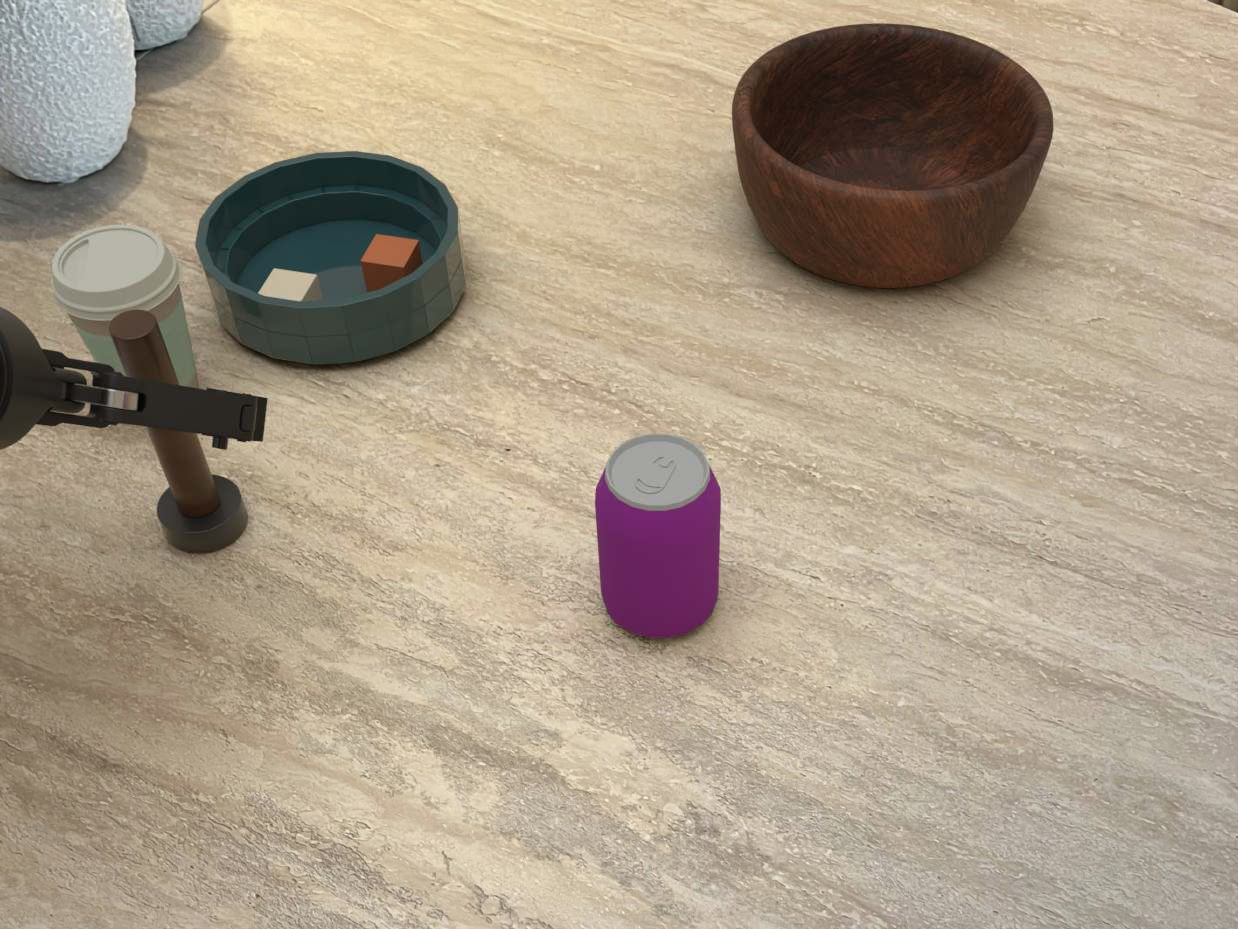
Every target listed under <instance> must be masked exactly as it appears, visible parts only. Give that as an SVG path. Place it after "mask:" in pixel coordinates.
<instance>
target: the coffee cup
mask: <svg viewBox="0 0 1238 929" xmlns="http://www.w3.org/2000/svg"><path fill="white" fill-rule="evenodd" d="M181 270H182V269H181V266H180V263H179V260H178V259H177V258H176V257H175V254H174V252H173V251H172V250H171V249H170V248H169V247H168V246H167V245H166V244H165V243H164V241H163V240H162V239H161V237H160V236H159V235H158V234H156V233H155V232H154V231H152V230H150V229H148V228H145V227H142V226H139V225H133V224H108V225H103V226H98V227H94V228H91V229H88V230H86V231H83V232H80V233H79V234H77V235H75V236H72V237H71V238H70V239H68V240H67V241H66V242H64V244H62V245H61V246H60V247H59V248H58V250H56V252H55V254H54V255H53V258H52V261H51V276H50V277H51V278H50V287H51V290H52V296H53V299H54V301H55V303H56V305H57V306H58V307H59V309H61V310H62V311H63V312H66V314H67V315H68V317H69V319H70V321H71V322H72V324H73V326H74V327H75V329H76V331H77V333H78V334H79V336H80V338H81V340H82V342H83V343H84V345H85V347H86V348H87V351H88V352H89V354H90V355H91V357H92V359H93V362H95V363H101V364H107V365H110V366H112V367H113V368H114V370H115V372H120V373H122V375H124V376H126V374H125V372H124V369H123V366H122V364H121V361H120V359H119V356H118V354H117V351H116V349H115V346H114V343H113V341H112V338H111V336H110V333H109V330H108V327H109V323H110V322H111V320H112V319H113V318H114V317H115V316H117V315H118V314H120V313H122V312H125V311H129V310H136V309H138V310H146V311H148V312H150V313H152V314H153V315H154V316H155V317H156V319H157V322H158V325H159V328H160V331H161V334H162V336H163V339H164V342H165V345H166V348H167V350H168V353H169V356H170V359H171V362H172V365H173V367H174V370H175V373H176V376H177V379H178V381H179V384H180V385H181V386H187V387H193V388H199V389H200V383H199V379H198V373H197V368H196V362H195V358H194V353H193V345H192V341H191V336H190V331H189V326H188V321H187V316H186V311H185V306H184V300H183V296H182V290H181V285H180V280H181V275H182V271H181Z"/></svg>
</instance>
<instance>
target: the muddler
mask: <svg viewBox="0 0 1238 929" xmlns="http://www.w3.org/2000/svg"><path fill="white" fill-rule="evenodd" d="M108 330H109V333H110V336H111V338H112V341H113V343H114V346H115V349H116V351H117V354H118V356H119V359H120V361H121V364H122V366H123V369H124V372H125V374H126V377H132V378H138V379H144V380H150V381H156V382H162V383H169V384H175V385H180V384H179V381H178V379H177V376H176V373H175V370H174V367H173V365H172V362H171V359H170V356H169V353H168V350H167V348H166V345H165V342H164V339H163V336H162V334H161V331H160V328H159V325H158V322H157V319H156V317H155V316H154V315H153V314H152V313H150V312H148V311H146V310H138V309H136V310H129V311H125V312H122V313H120V314H118V315H117V316H115V317H114V318H113V319H112V320H111V322H110V323H109V327H108ZM145 428H146V431H147V433H148V436H149V439H150V441H151V444H152V446H153V448H154V450H155V454H156V456H157V459H158V461H159V464H160V467H161V469H162V472H163V474H164V477H165V479H166V482H167V485H168V488H166V490H164V492H162V494H161V496H160V498H159V499H158V502H157V504H156V515H157V518H158V520H159V524H160V526H161V529H162V530H163V533H164V536H165V537H166V539H167V541H168V542H169V543H170V545H172V546H173V547H174V548H176V549H177V550H180V551H182V552H186V553H189V554H191V553H192V554H207V553H211V552H215V551H219V550H222V549H224V548H226V547H228V546H230V545H231V544H233V543H234V542H235V541H236V540H238V539H239V537H240V536H242V534H243V533H244V532H245V530H246V527H247V524H248V520H249V516H248V511H247V508H246V505H245V502H244V499H243V495H242V492H241V491H240V488H239V487H238V486H237V485H236V483H235V482H234V481H233V480H231V479H229V478H227V477H226V476H223V475H219V474H212V472H211V470H210V466H209V463H208V461H207V458H206V455H205V452H204V450H203V446H202V444H201V441H200V438H199V434H198V433H190V432H183V431H175V430H168V429H160V428H153V427H146V426H145Z"/></svg>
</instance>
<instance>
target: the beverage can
mask: <svg viewBox="0 0 1238 929" xmlns="http://www.w3.org/2000/svg"><path fill="white" fill-rule="evenodd" d="M705 454H706V453H705V452H704V451H703V450H702V449H701V448H700V447H699V446H698V445H697V444H696V443H695V442H693V441H690V440H689V439H686V438H684V437H683V436H680V435H676V434H671V433H668V432H667V433H666V432H665V433H664V432H663V433H662V432H661V433H660V432H650V433H645V434H641V435H636V436H633V437H631V438H629V439H627V440H625V441H623V442H621V444H619V445H618V446H617V447H615V449H614V450H612V451H611V452H610V454H609V457H608V459H607V461H606V463H605V467H604V469H603V471H602V474H601V476H600V478H599V480H598V482H597V483H596V486H595V495H594V510H595V526H596V540H597V553H598V554H597V555H598V568H599V582H600V594H601V598H602V602H603V605H604V607H605V610H606V613H607V615H609V617H610V618H611V619H612V620H613V621H614V622H615V624H616V625H617V626H619V627H620V628H622V629H624V630H626V631H627V632H629V633H631V634H634V635H638V636H641V637H646V638H650V639H669V638H674V637H678V636H682V635H685V634H688V633H690V632H691V631H693V630H695V629H697V628H699V627H701V626H702V625H703V624H704V623H705V621H707V620H708V618H710V617H711V616H712V614H713V611H714V609H715V607H716V605H717V602H718V597H719V587H720V586H719V585H720V584H719V582H720V551H721V550H720V547H721V517H722V516H721V515H722V514H721V512H722V489H721V487H720V484H719V483H718V480H717V478H716V476H715V474H714V471H713V470H712V468H711V465H710V463H709V461H708V458H707V456H706V455H705Z"/></svg>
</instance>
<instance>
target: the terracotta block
mask: <svg viewBox="0 0 1238 929" xmlns="http://www.w3.org/2000/svg"><path fill="white" fill-rule="evenodd" d="M422 264H423V262H422V256H421V250H420V244H419V240H415V239H408V238H401V237H394V236H387V235H380V234H376V235H375V237H374V239H373V240H372V242H371V244H370V245H369V247H368V249H367V250H366V252H365V254H364V256H363V257H362V259H361V266H362V271H363V276H364V281H365V285H366V290H367V293H368V292H372V291H376V290H379V289H381V288H383V287H385V286H387V285H389V284H391V283H393V282H395V281H398V280H400V279H402V278H404V277H406V276H408V275H410V274H412V273H413V272H414V271H415V270H416V269H418V268H419V267H420V266H421V265H422Z"/></svg>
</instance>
